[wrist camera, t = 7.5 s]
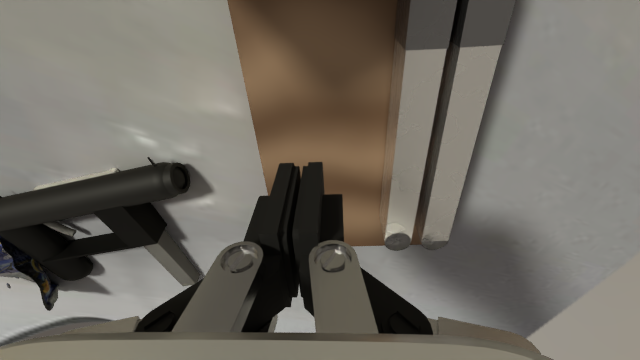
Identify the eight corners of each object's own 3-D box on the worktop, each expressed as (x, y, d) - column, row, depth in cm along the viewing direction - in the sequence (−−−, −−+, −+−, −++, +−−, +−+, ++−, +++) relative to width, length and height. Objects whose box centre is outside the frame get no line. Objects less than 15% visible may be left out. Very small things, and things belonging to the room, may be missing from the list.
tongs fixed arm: (434, 220, 26) (446, 249, 24) (410, 221, 26) (419, 250, 24) (502, -83, 15) (541, -92, 12) (457, -79, 15) (485, -87, 12)
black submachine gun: (244, 283, 32) (154, 163, 22) (83, 306, 35) (-60, 210, 25) (250, 257, 34) (172, 138, 24) (99, 280, 37) (-25, 184, 27)
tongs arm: (402, 223, 26) (410, 250, 24) (378, 223, 26) (383, 251, 24) (448, -78, 15) (473, -86, 12) (403, -76, 15) (419, -82, 12)
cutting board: (435, 232, 29) (440, 244, 28) (281, 236, 30) (279, 248, 29) (521, -136, 14) (538, -145, 13) (213, -109, 15) (203, -114, 14)
